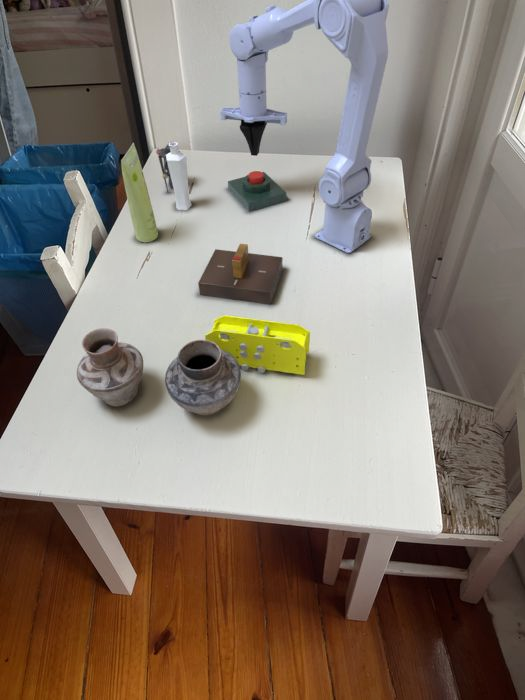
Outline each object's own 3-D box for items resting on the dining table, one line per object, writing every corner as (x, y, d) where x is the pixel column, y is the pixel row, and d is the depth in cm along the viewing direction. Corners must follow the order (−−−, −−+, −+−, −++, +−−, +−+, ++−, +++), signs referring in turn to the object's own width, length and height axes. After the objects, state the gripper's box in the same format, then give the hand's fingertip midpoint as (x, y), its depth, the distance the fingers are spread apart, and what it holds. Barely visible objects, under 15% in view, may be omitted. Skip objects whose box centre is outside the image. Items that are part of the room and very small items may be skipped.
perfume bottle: (194, 201, 117) (185, 139, 106) (191, 210, 114) (181, 148, 103) (176, 200, 118) (165, 139, 107) (172, 210, 115) (160, 147, 104)
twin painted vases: (102, 364, 82) (81, 312, 73) (248, 376, 79) (244, 323, 70) (76, 419, 74) (49, 368, 66) (236, 434, 72) (230, 383, 63)
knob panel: (282, 269, 98) (282, 256, 96) (270, 304, 91) (270, 291, 89) (216, 261, 101) (215, 248, 98) (200, 294, 94) (197, 282, 91)
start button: (266, 182, 115) (266, 175, 114) (252, 186, 114) (252, 179, 113) (259, 176, 118) (259, 169, 116) (246, 180, 116) (245, 173, 115)
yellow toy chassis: (208, 366, 81) (203, 331, 75) (218, 342, 85) (213, 306, 78) (303, 380, 78) (305, 344, 72) (308, 354, 82) (311, 318, 76)
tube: (163, 239, 107) (145, 152, 92) (142, 247, 105) (120, 160, 91) (152, 227, 110) (133, 142, 96) (132, 235, 108) (109, 149, 94)
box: (286, 200, 116) (286, 185, 113) (248, 211, 113) (248, 196, 110) (264, 179, 124) (263, 164, 121) (228, 189, 121) (226, 174, 118)
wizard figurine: (165, 180, 125) (156, 133, 116) (187, 179, 125) (180, 132, 116) (162, 197, 119) (153, 149, 110) (185, 196, 119) (177, 148, 110)
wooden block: (241, 260, 96) (239, 242, 92) (248, 261, 95) (247, 243, 92) (233, 277, 92) (231, 259, 89) (241, 278, 92) (240, 260, 89)
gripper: (213, 94, 100) (219, 158, 110) (281, 99, 97) (281, 164, 107) (224, 82, 104) (229, 144, 114) (289, 87, 101) (289, 150, 111)
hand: (255, 153), depth 111 cm, fingers closed
